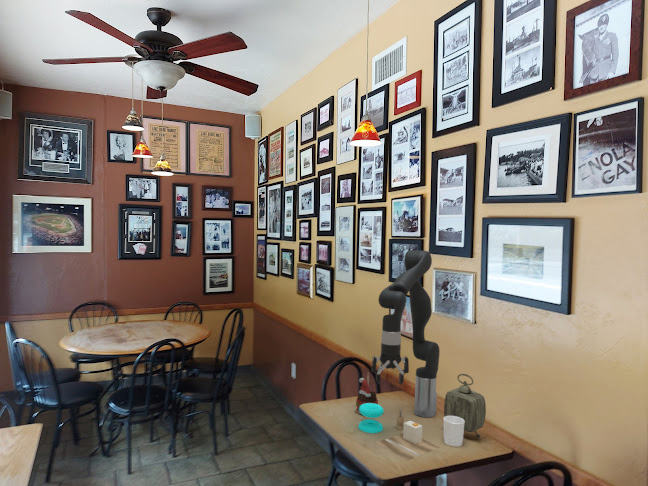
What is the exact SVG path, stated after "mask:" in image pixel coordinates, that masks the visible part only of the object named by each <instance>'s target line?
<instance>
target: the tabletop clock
mask: <svg viewBox="0 0 648 486" xmlns="http://www.w3.org/2000/svg"><path fill="white" fill-rule="evenodd" d="M457 375H458V376H457V381H458V382H459V383H461V385H459V387H457V388H454V389H451V390H449V391H446V394H445V398H444V405H443V410H444V411H443V418H444V417H445V416H457V417H460V418H462V419H464V421H465V424H464V432H468V433H474V435H475V437H476V439H480V438H481V435H480V434H479V433H478V432H477V431H478V430H480V429H483V427H484V424H485V422H486V414H487V407H486V406H487V405H486V400H485V396H484V395H483V394H481V393H480V392H477V391H473V390H472V389H471V387H470V386H471V385H473V384H474V379H473V377H472V376H471V375H468V374H467V373H466V374H465V373H460V374H457ZM461 376H465V377H467V378H469V379H470V380H471V383H467V381H466V380H463V381H462V380H460V377H461Z"/></svg>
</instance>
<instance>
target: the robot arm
mask: <svg viewBox="0 0 648 486" xmlns="http://www.w3.org/2000/svg"><path fill="white" fill-rule="evenodd" d="M432 259H433V258H432V255H431V253H430V252H429V251H428V250H408V251H406V252H405V254H404V267H405V271H403V272H402V273H400V274H399V275H398V276H397V277H396V279H395V280H394V281H393V283H391V284H390V285H388V286H387V287H385V288H383V290H382V291H381V292H380V293H379V295H378V304H379V306H380V307H381V308H383V309H388V310H389V309H390V310H393V313H392V314H390V313H389V314H385V315H383V317H382V330H381V338H380V339H381V340H380V341H381V342H380V356H375V355H372V359H371V360H372V361H371V372H372V373H373V374H375V381H376V383H377V384H378V385H380V384H381V378H382V377H381V373H382V372H383V371H384V370H385V369H387V370H388V369H392V370H393V369H397V371H398V372H399V374H398V383H399V385H402V384H403V383H404V376H405V374H408V373H409V372H410V371H409V370H410V367H409V366H410V365H409V357H408V356H406V355H405V356H402V357H401V349H402V348H401V347H402V346H401V344H402V335H401V331H402V329H401V324H402V323H401V322H402V319H403V318H402V316H403V313H404V310H405V307H406V304H407V297H406V296H407V295H408V294H409V306H410V314H411V322H412V323H411V324H412V325H411V326H412V352H413V353H412V354H413V356H414V357H415V359H417V360H420V361H423V362H425V365H424V366H420V367H417V368H416V370H415V384H414V385H415V388H414V389H415V390H414V409H413V410H414V411H413V413H414V415H417V416H419V417H421V418H432V417H433V418H434V417H435V415H436V414H437V401H438V399H437V398H438V393H437V375H438V371H439V362H440V346H439V344H438V342H434V341H431V340H426V339H425V329H426V326H427V324H428V322H429V321H430V318H431V316H432V311H433V310H432V300H431V297H430V295H429V294H428V292H427V291H426V289H425V288H424V286H423V285H422V284H421V282H420V281H419V279H421V278H422V277H423V276H424V275H425V274H427V272H428V271H429V270H430V268H431V266H432V265H433V264H432V262H433V260H432ZM379 361H380V364H379V365H378V367H377V363H379ZM401 362H402V363H403V369H402V367H401V365H400V363H401Z"/></svg>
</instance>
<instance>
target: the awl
mask: <svg viewBox="0 0 648 486" xmlns="http://www.w3.org/2000/svg"><path fill="white" fill-rule="evenodd" d="M402 413H403V409H401V408H400V409H399V415H397V416H396V429H397V430H399V431H403V427H404V423H405V416H403V415H402Z"/></svg>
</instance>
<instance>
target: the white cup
mask: <svg viewBox="0 0 648 486" xmlns="http://www.w3.org/2000/svg"><path fill="white" fill-rule="evenodd" d="M464 424H465V421H464V419H462V418H460V417H457V416H445V417H444V416H443V428H442V429H443V442H444V443H445V444H446V445H448V446H450V447H461V446H462V445H463V442H464V441H463V440H464V433H465V431H464Z"/></svg>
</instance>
